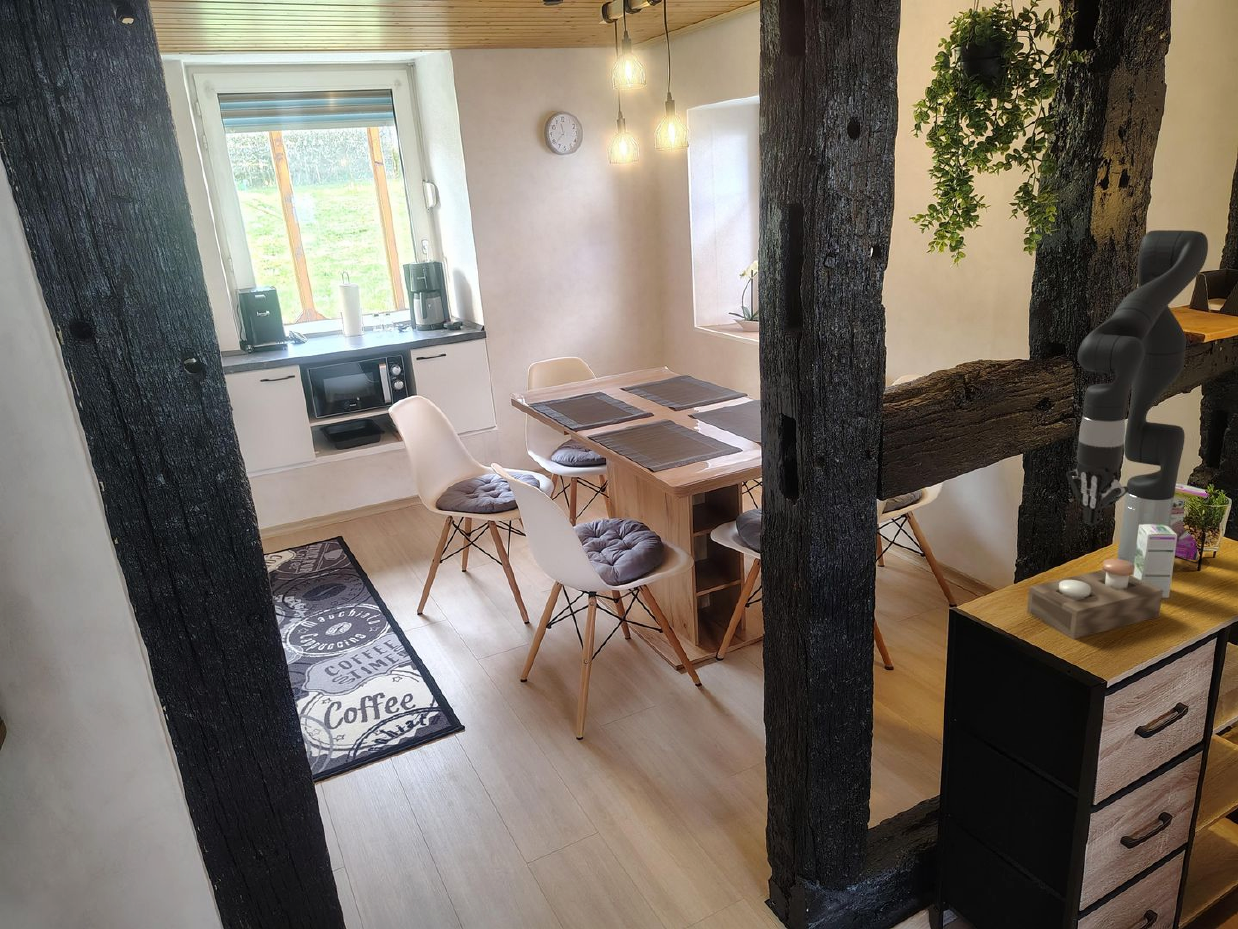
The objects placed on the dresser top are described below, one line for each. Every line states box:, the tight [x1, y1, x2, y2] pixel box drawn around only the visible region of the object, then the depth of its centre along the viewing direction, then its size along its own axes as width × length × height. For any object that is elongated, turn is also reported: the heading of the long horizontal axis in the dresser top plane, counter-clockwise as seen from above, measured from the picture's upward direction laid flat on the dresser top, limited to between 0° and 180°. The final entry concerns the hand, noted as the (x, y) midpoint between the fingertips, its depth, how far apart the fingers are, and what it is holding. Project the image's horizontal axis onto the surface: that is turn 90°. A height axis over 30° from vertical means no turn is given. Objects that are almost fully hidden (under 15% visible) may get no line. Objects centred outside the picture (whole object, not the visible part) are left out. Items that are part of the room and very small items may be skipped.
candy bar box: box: [1170, 482, 1211, 560], centre depth 199 cm, size 11×5×16 cm, turn 33°
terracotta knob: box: [1102, 558, 1135, 590], centre depth 175 cm, size 6×6×7 cm
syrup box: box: [1132, 524, 1177, 599], centre depth 182 cm, size 6×6×14 cm
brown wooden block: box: [1026, 569, 1163, 640], centre depth 175 cm, size 22×12×6 cm, turn 109°
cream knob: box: [1059, 580, 1091, 601], centre depth 173 cm, size 6×6×7 cm
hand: (1091, 523), depth 169 cm, fingers closed
